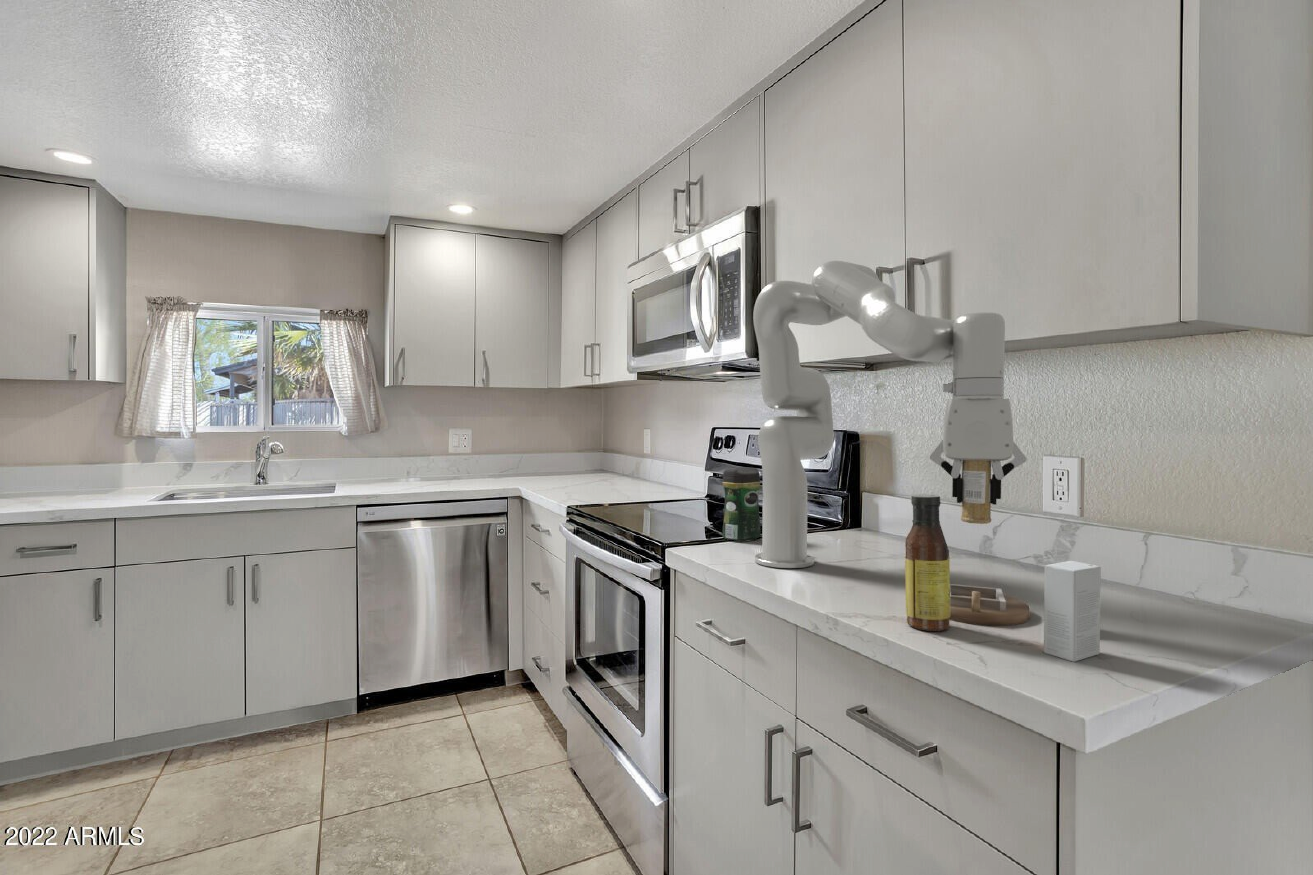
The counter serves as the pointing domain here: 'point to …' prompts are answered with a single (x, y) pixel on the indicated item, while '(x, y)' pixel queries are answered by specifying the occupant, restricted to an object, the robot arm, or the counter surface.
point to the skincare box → (1072, 610)
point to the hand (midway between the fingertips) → (976, 501)
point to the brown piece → (985, 606)
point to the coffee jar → (741, 504)
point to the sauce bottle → (927, 568)
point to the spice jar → (976, 491)
